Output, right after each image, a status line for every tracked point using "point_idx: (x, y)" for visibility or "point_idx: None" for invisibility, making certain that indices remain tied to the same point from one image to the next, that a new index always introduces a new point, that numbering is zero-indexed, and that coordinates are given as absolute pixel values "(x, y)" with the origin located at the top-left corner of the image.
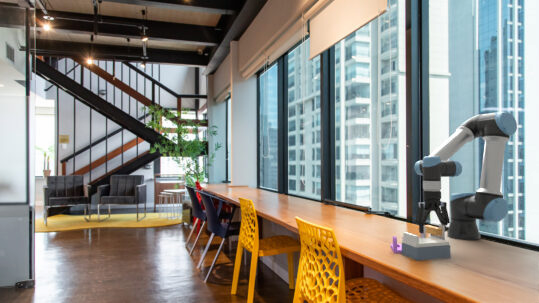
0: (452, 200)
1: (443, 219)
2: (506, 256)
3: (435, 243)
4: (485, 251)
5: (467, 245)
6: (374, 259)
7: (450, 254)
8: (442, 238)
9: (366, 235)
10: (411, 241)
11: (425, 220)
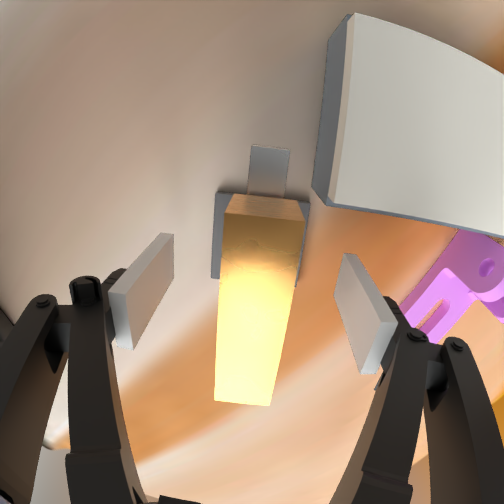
0: None
1: (86, 339)
2: (31, 15)
3: (473, 60)
4: (29, 105)
5: (25, 231)
6: None
7: (332, 34)
8: (277, 149)
9: (327, 473)
10: None
11: (400, 374)
